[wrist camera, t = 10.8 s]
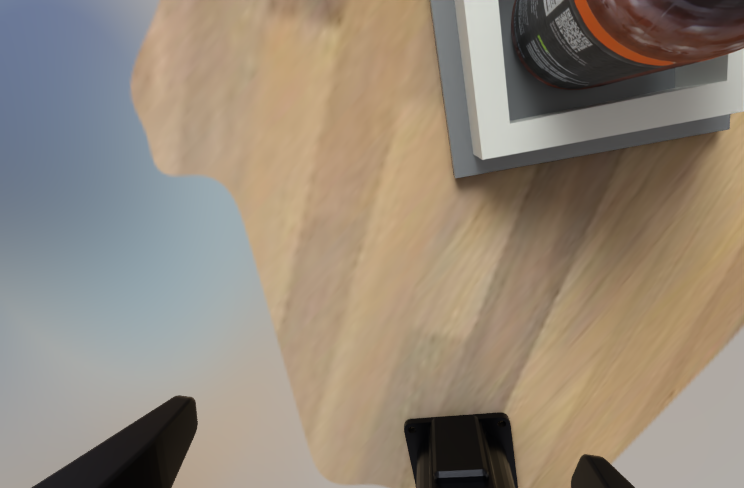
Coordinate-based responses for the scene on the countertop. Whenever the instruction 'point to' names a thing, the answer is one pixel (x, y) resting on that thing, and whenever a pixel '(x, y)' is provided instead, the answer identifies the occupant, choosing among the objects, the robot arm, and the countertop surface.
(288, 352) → the countertop surface
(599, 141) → the socket holder
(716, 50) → the supplement bottle
